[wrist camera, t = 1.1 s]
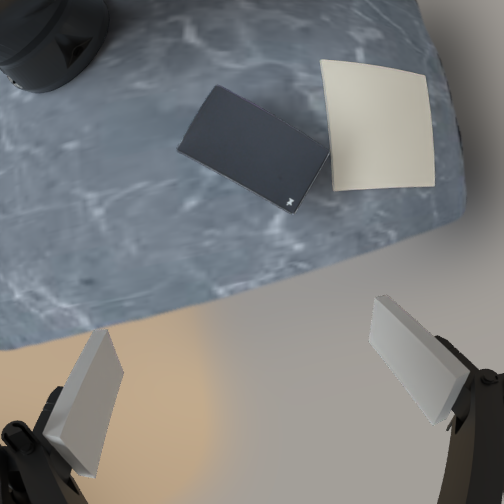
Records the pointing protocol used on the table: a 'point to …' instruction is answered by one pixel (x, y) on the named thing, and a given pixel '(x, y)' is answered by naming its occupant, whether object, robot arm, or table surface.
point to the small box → (253, 149)
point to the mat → (377, 126)
